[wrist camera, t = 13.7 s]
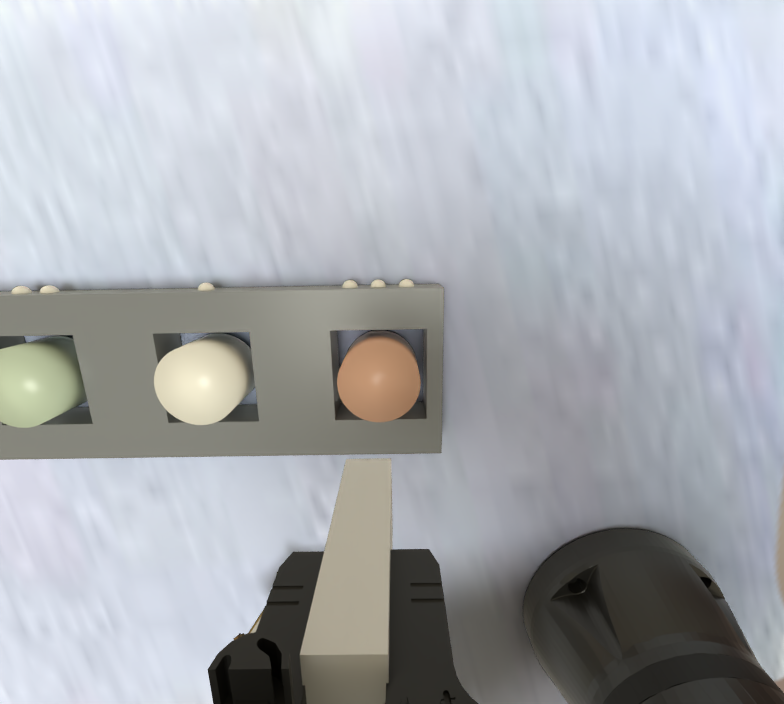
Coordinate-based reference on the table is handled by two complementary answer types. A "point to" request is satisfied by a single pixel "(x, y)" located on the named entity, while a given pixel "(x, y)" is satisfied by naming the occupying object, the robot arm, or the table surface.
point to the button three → (379, 377)
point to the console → (270, 365)
